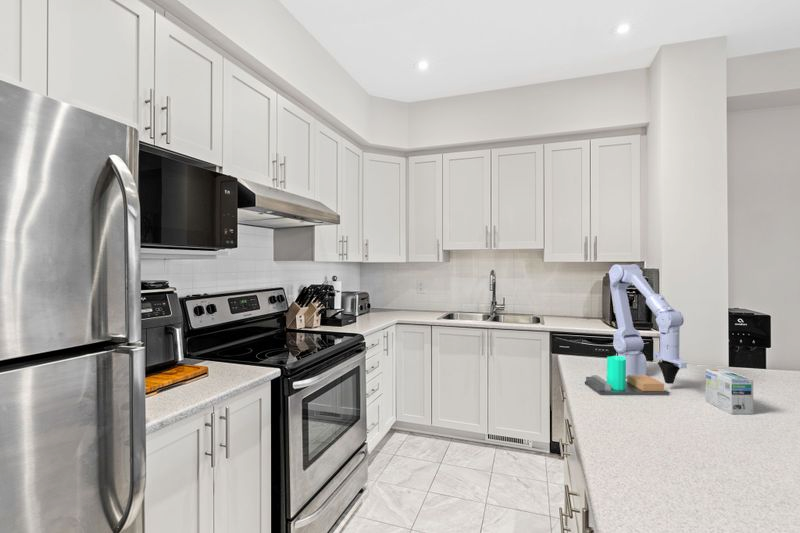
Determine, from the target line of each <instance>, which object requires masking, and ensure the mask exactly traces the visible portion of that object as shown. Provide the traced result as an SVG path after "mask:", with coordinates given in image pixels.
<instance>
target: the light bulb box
mask: <svg viewBox="0 0 800 533" xmlns="http://www.w3.org/2000/svg"><path fill="white" fill-rule="evenodd" d="M705 402H706V403H708V404H710V405H713V406H714V407H717V408H719V409H721V410H722V411H725V412H727V413H728V414H731V415H737V414H738V415H754V378H751V377H748V376H745V375H742V374H739V373H736V372H733V371H730V370H728V369H722V368H721V369H716V368H715V369H713V368H710V369H709V368H706V369H705Z"/></svg>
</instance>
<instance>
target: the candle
mask: <svg viewBox="0 0 800 533" xmlns="http://www.w3.org/2000/svg"><path fill="white" fill-rule="evenodd" d="M606 381H607V382H608V383H610V384H611V389H615V390H625V389H626V381H627V378H626V358H624V357H621V356H618V352H616V353H615V355H612V356H609V355H608V356H607V357H606Z"/></svg>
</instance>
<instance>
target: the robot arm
mask: <svg viewBox="0 0 800 533" xmlns="http://www.w3.org/2000/svg"><path fill="white" fill-rule="evenodd" d="M643 272H644V271H643V270H642V269H641V268H640V267H639V265H638V264H635V263H633V264H613V265H612V266H611V267H610V270H609V271H608V277H609V281H610V283H609V287H610V293H611V299H612V303H613V308H614V314H615V319H616V325H617V330H616V331H615V332H613V334H612V335H613V342H612V345H613V349H614V350H615V351H616V353H617V356H621V357H624V358H626V379H627V375H647V365H648V364H647V358H646V356H645V354H644V353H642V352H641V351H643V349H644V345H645V343H644V340H643V339H642V336H641V333H640V332H639V330H637V329H636V328H634V323H633V322H634V321H633V318H632V313H631V307H630V303H629V298H628V293H627V288H628V287H629V286H631V285H634V287H635V288H636V289H637V290H638V291H639V293H641V295H642V296H643V297H645V304H646V305H647V306H648V308H649V309H650V310H651V312H652V313H653V314H654V316H655V317H656V318H655V322H656V325H657V326H658V332H659V352H657V351H655V352H653V359H657V360H659V361H658V362H657V364H658V366H659V368H660V371H661V372H662V376H663V379H664V382H665V383H666V384H667V385H672V384H674V382H675V379H676V377H677V374H678V373H679V371H680V369H687V366H688V365H687V362H686V361H684V360H682V359H681V358H680V333H681V332H680V328H681V326H683V325H684V323H685V319H684V318H685V317H684V315H683V313H682V312H681V311H679V310H676V309H675V308H673V307H672V306H671V305H670V304H669V303H668V301H667V300H666V299H665V297H664V295H662V294H660V293H655V291H654V289H653V288H652V286H651V285H650V284H649V282H648V281H647V279H646V278H645V277H644V276H643ZM665 383H664V384H665Z"/></svg>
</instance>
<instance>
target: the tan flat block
mask: <svg viewBox="0 0 800 533" xmlns="http://www.w3.org/2000/svg"><path fill="white" fill-rule="evenodd" d="M626 381H627V382H628V383H630V384H632V385H634V386H635V387H637V388H639V389H641V390H642V391H664V390H665V383H663V382H661V381H659V380H658V379H656V378H653V377H652V376H649V375H647V374H646V375H627V378H626Z"/></svg>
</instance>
